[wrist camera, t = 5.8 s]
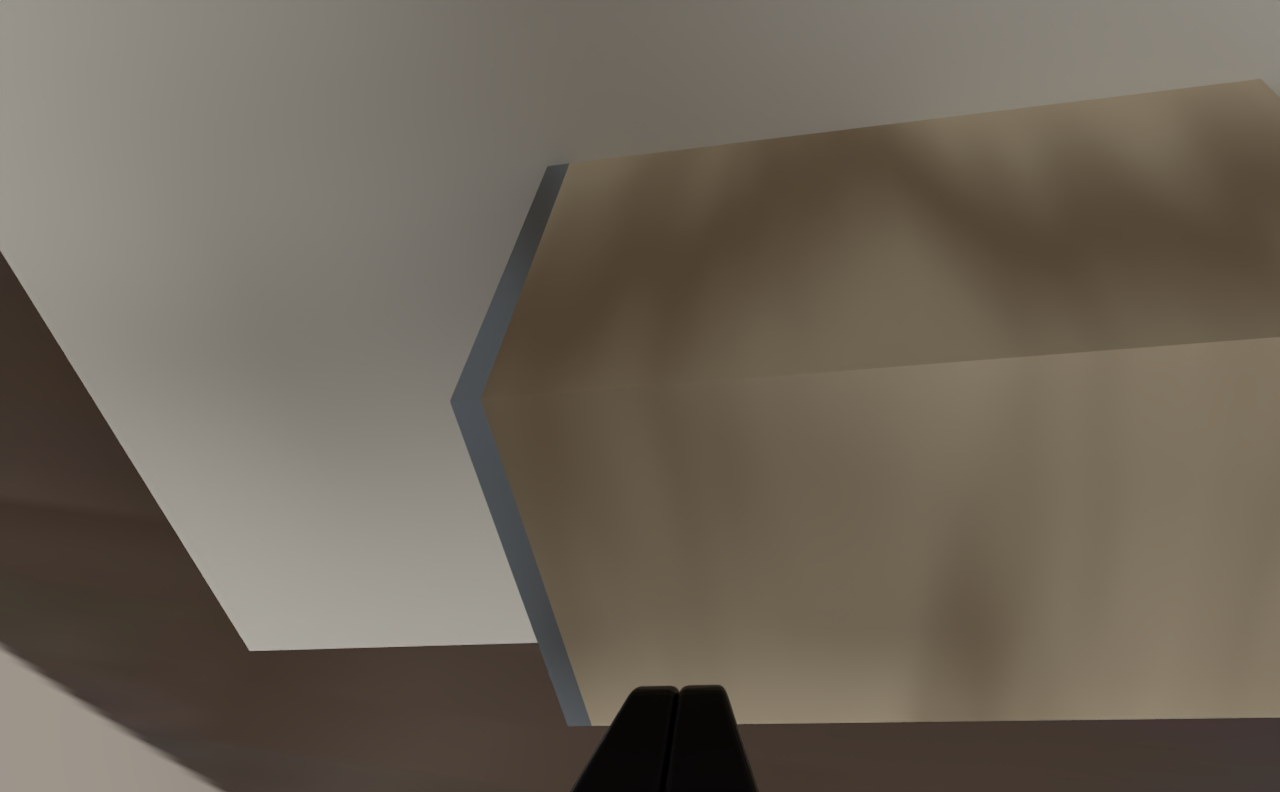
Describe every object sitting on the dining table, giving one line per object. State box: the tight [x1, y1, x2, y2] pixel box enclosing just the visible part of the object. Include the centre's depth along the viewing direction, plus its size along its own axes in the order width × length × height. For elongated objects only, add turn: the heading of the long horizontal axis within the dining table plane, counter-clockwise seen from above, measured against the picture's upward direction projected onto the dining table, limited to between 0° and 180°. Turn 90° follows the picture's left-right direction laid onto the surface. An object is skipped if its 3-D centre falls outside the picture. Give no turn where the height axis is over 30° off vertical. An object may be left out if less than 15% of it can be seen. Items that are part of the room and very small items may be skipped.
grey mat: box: [0, 0, 1280, 651], centre depth 15 cm, size 20×14×1 cm
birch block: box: [450, 79, 1280, 726], centre depth 12 cm, size 5×5×8 cm
